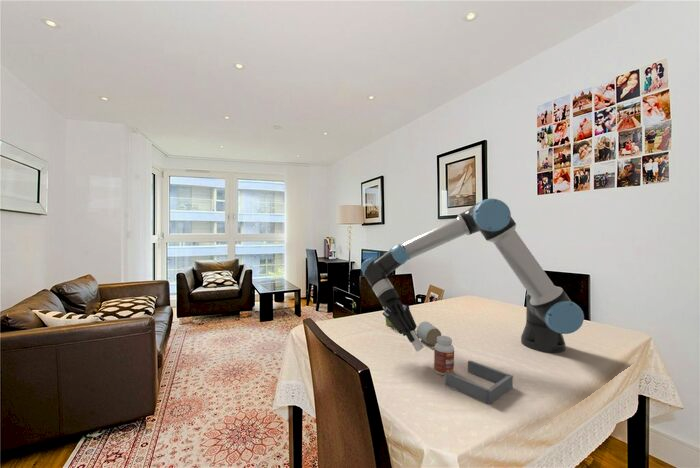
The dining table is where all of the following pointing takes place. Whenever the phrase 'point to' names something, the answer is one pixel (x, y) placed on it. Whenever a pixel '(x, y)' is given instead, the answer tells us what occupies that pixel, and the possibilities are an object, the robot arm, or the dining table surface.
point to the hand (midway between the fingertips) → (420, 349)
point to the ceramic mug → (428, 333)
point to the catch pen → (479, 392)
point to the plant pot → (387, 320)
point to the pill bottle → (444, 355)
